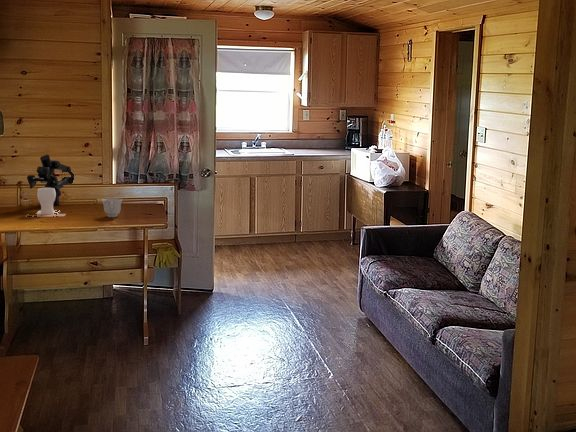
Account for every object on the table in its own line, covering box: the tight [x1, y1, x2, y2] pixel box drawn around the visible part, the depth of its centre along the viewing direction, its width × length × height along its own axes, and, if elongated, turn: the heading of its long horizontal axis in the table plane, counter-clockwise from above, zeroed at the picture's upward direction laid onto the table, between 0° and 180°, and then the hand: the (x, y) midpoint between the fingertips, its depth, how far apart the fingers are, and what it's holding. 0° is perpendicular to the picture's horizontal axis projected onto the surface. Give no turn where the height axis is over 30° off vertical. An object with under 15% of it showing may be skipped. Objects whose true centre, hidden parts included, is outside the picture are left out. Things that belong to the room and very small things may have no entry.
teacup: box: [101, 197, 123, 218], centre depth 419 cm, size 12×15×10 cm
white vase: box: [36, 187, 56, 214], centre depth 425 cm, size 11×11×15 cm
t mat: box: [25, 209, 67, 218], centre depth 427 cm, size 21×22×1 cm
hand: (37, 188), depth 433 cm, fingers open, 9 cm apart
